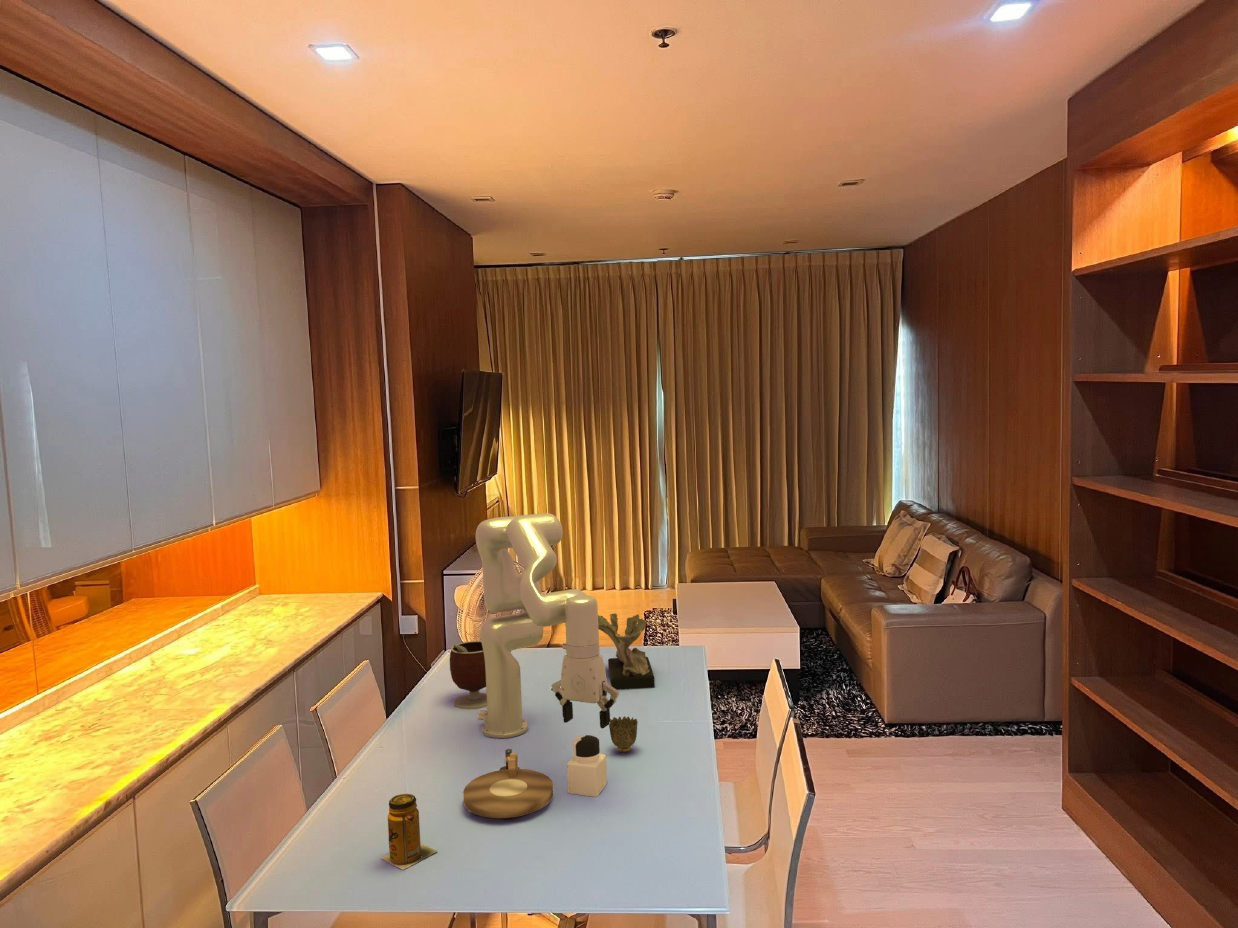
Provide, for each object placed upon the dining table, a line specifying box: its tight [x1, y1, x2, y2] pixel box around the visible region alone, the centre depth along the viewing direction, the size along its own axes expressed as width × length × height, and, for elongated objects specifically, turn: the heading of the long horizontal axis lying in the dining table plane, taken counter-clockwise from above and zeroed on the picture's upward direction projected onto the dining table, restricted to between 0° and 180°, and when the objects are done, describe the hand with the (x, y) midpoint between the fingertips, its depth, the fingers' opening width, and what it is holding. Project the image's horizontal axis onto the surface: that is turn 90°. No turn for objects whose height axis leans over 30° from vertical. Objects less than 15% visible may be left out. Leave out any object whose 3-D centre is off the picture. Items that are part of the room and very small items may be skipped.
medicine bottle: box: [566, 734, 608, 798], centre depth 194 cm, size 7×7×12 cm
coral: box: [598, 613, 656, 691], centre depth 270 cm, size 25×20×22 cm
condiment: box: [381, 793, 438, 871], centre depth 167 cm, size 7×8×12 cm
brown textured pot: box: [608, 715, 639, 754], centre depth 214 cm, size 8×7×8 cm
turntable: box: [462, 752, 554, 819], centre depth 188 cm, size 20×20×6 cm
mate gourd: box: [449, 640, 487, 710], centre depth 254 cm, size 16×14×20 cm
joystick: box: [498, 748, 521, 771], centre depth 203 cm, size 7×5×6 cm
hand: (586, 723), depth 193 cm, fingers open, 9 cm apart
